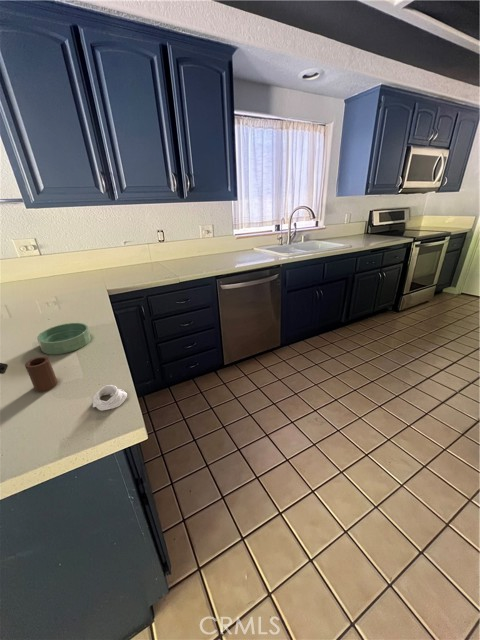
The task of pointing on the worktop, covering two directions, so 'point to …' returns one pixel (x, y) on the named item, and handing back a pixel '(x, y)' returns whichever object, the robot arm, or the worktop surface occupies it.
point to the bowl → (64, 338)
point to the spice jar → (41, 373)
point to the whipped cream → (113, 401)
